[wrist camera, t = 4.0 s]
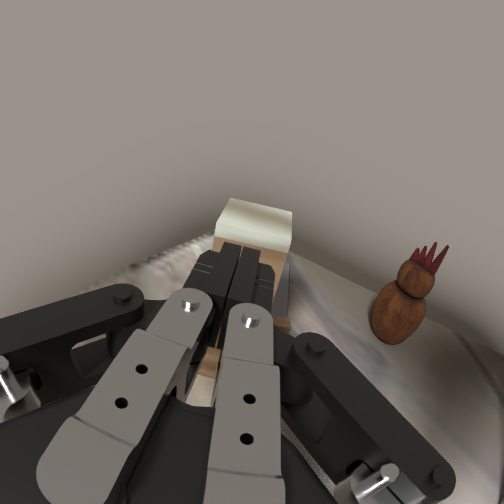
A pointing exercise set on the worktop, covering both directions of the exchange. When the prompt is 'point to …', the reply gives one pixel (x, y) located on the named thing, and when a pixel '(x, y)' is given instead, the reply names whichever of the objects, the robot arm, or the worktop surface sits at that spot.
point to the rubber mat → (281, 294)
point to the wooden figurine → (405, 297)
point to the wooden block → (251, 246)
